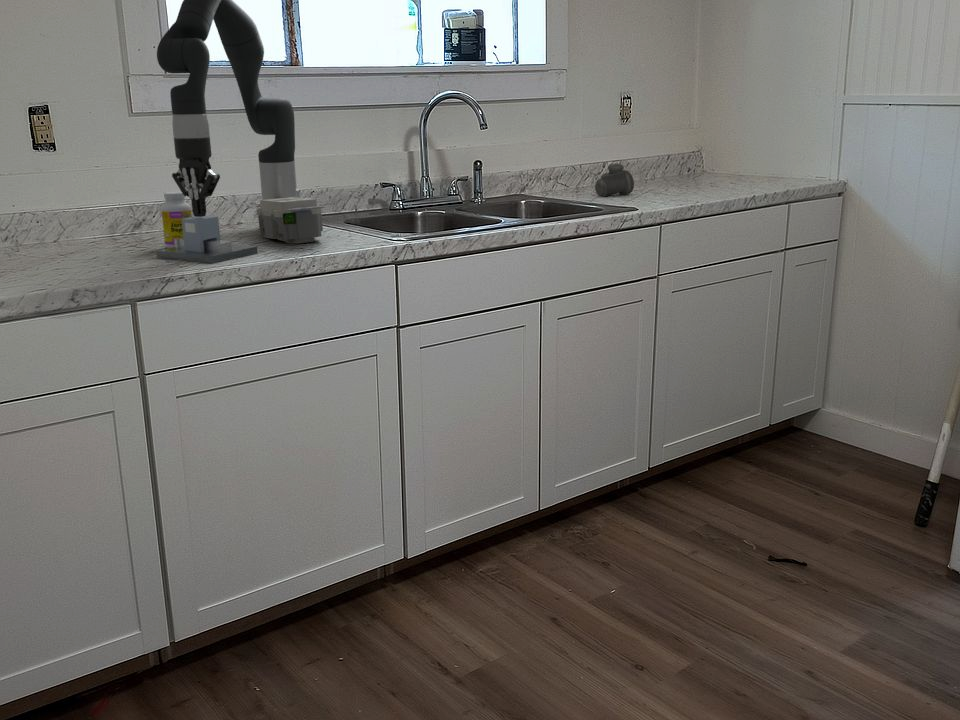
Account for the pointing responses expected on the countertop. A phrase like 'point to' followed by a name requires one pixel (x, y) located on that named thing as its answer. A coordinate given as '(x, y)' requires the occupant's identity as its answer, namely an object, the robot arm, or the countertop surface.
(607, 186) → the pipe fitting
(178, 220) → the supplement bottle
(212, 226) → the block
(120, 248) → the countertop surface
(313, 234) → the electrical outlet
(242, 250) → the grey flat block
